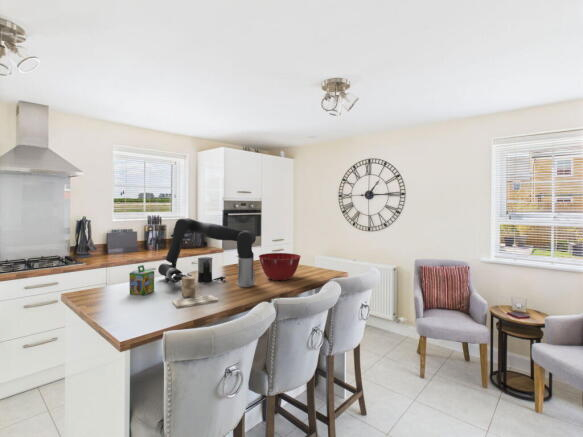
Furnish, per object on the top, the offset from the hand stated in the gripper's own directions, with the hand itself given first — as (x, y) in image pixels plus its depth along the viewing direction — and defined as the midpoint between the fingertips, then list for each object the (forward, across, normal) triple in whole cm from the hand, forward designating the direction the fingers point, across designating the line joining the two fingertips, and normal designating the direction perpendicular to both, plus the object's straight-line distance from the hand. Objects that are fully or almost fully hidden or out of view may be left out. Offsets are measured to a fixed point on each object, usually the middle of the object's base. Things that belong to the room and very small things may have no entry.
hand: (182, 280), depth 172 cm
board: (+23, 0, +6) cm, 24 cm away
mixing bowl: (+2, +64, +6) cm, 64 cm away
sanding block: (+11, 0, +6) cm, 13 cm away
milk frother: (-13, +22, +6) cm, 27 cm away
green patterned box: (-8, -19, +6) cm, 22 cm away
